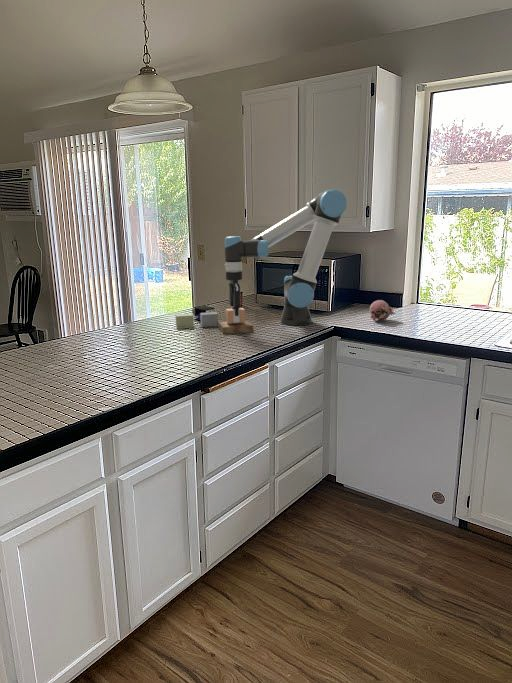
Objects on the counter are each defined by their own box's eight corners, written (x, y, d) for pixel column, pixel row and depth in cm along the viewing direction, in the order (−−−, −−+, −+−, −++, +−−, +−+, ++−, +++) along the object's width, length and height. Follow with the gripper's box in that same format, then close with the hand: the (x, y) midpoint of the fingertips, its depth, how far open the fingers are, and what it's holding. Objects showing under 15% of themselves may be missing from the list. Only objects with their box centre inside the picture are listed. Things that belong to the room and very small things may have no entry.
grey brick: (216, 323, 258) (216, 311, 256) (218, 326, 253) (218, 313, 252) (200, 324, 256) (200, 312, 255) (202, 327, 251) (201, 314, 250)
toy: (398, 322, 247) (396, 314, 261) (392, 301, 244) (390, 294, 258) (373, 329, 250) (372, 321, 264) (367, 308, 248) (366, 301, 262)
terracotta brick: (242, 320, 246) (242, 307, 245) (245, 322, 241) (244, 309, 240) (226, 321, 244) (225, 308, 243) (228, 323, 240) (227, 310, 238)
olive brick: (192, 325, 255) (191, 313, 254) (193, 327, 251) (193, 315, 249) (176, 326, 253) (175, 314, 252) (177, 328, 249) (176, 316, 247)
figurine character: (191, 321, 271) (204, 323, 258) (190, 306, 270) (203, 307, 257) (203, 319, 275) (216, 321, 262) (202, 305, 274) (215, 306, 261)
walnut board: (247, 326, 251) (247, 320, 250) (253, 331, 240) (252, 325, 239) (218, 328, 248) (218, 322, 247) (223, 333, 237) (222, 327, 236)
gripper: (222, 269, 245) (223, 317, 250) (229, 273, 228) (231, 325, 233) (237, 268, 246) (239, 316, 252) (246, 272, 229) (247, 324, 235)
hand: (235, 321), depth 243 cm, fingers closed on terracotta brick, 5 cm apart
